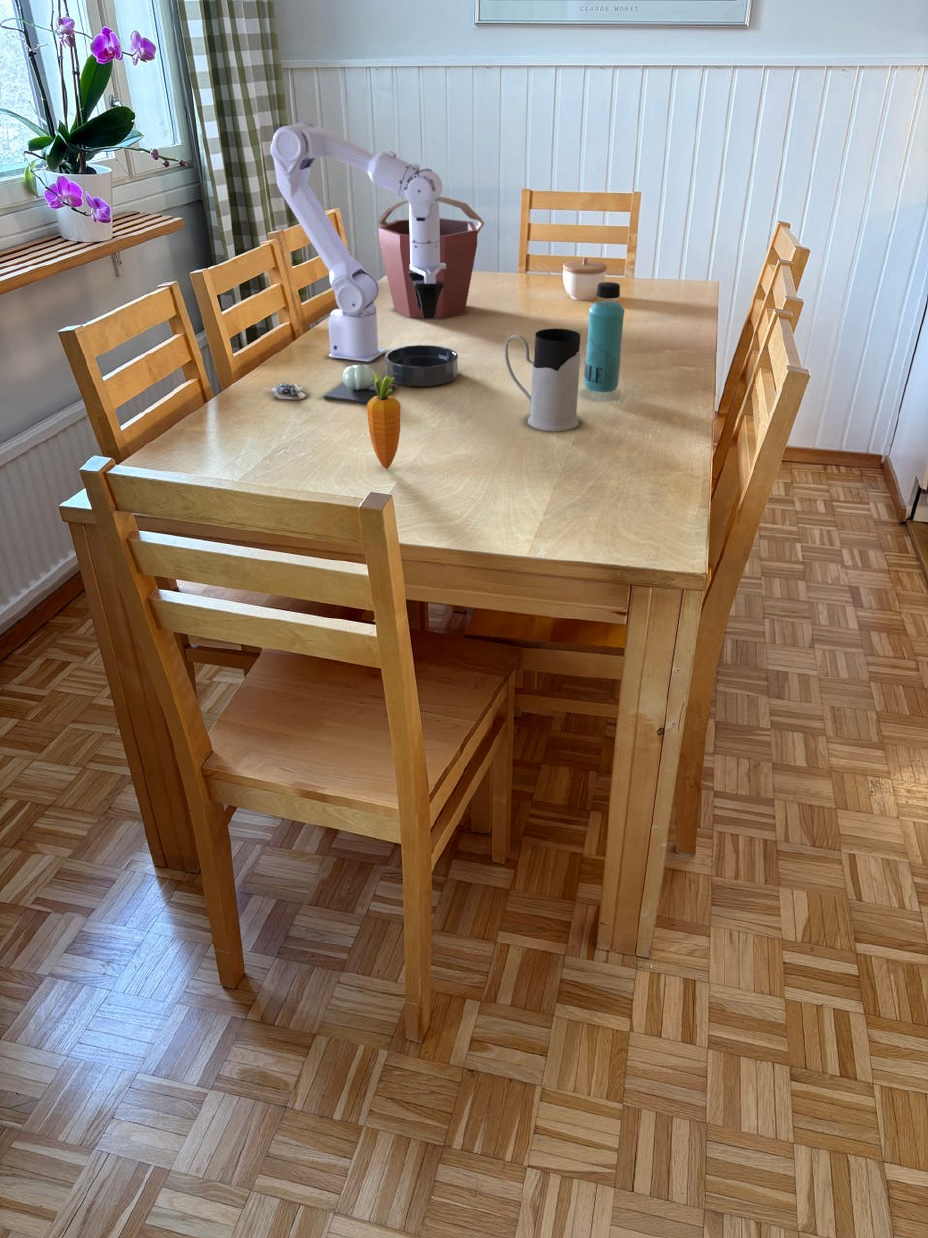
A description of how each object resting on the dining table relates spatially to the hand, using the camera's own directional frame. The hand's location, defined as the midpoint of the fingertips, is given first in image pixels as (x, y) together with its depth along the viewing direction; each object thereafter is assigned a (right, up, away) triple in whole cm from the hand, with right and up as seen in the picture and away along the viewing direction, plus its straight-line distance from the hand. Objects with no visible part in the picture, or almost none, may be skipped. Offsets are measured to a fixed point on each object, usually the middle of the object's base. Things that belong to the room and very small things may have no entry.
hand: (426, 312), depth 186 cm
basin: (-1, -14, -4) cm, 14 cm away
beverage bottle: (+33, -19, -12) cm, 40 cm away
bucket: (0, +13, +38) cm, 40 cm away
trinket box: (+37, +20, +48) cm, 64 cm away
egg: (-12, -16, -13) cm, 24 cm away
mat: (-12, -19, -12) cm, 25 cm away
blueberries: (-25, -19, -12) cm, 34 cm away
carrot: (-4, -38, -41) cm, 56 cm away
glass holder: (+21, -26, -23) cm, 40 cm away
